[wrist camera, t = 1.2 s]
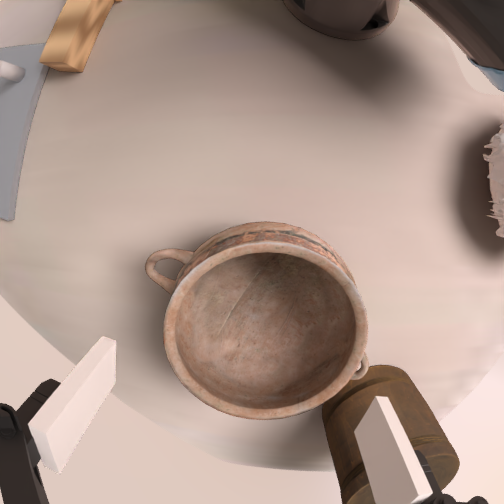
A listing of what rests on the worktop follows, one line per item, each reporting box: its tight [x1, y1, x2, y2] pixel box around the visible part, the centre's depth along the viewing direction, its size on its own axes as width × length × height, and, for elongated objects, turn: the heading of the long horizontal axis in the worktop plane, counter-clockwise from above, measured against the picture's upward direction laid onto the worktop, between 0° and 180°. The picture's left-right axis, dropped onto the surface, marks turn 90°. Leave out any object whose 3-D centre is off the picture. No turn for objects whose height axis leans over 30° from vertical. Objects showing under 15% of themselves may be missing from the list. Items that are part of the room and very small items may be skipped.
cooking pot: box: [145, 222, 369, 420], centre depth 31 cm, size 25×19×12 cm
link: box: [39, 0, 122, 72], centre depth 26 cm, size 18×7×5 cm, turn 163°
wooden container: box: [322, 365, 460, 504], centre depth 30 cm, size 15×15×22 cm
